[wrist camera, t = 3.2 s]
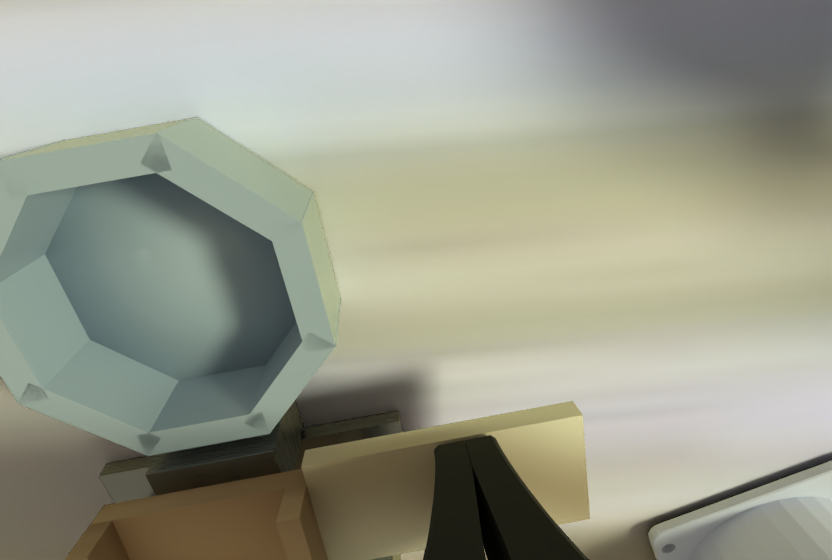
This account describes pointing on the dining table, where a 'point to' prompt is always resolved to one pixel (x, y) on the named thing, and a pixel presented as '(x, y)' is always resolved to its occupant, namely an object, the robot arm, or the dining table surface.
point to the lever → (343, 497)
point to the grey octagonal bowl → (161, 286)
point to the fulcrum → (239, 457)
